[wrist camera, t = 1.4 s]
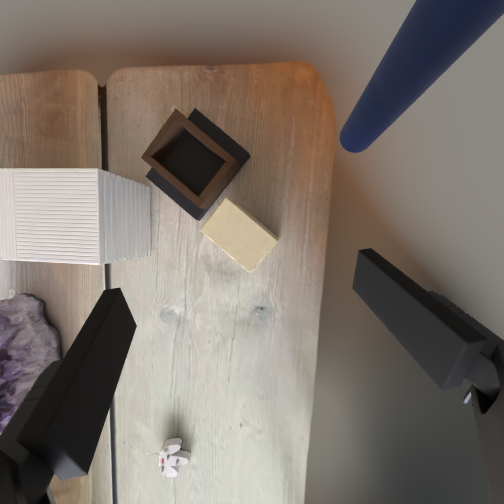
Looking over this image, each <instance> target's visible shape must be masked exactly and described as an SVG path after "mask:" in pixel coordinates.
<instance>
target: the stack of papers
mask: <svg viewBox="0 0 504 504" xmlns="http://www.w3.org/2000/svg"><path fill="white" fill-rule="evenodd" d="M147 256H151V187H150V186H147V185H144V184H142V183H139V182H136V181H133V180H130V179H127V178H125V177H121V176H119V175H115V174H113V173H110V172H107V171H103V170H102V169H99V168H0V260H18V261H37V262H56V263H75V264H95V265H102V264H105V263H106V264H107V263H111V262H112V263H113V262H119V261H124V260H130V259H135V258H141V257H147Z"/></svg>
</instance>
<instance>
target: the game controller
mask: <svg viewBox="0 0 504 504" xmlns="http://www.w3.org/2000/svg"><path fill="white" fill-rule="evenodd" d="M123 443H124V442H123ZM181 443H182V440H181V439H180V438H173V439H168V440H166V441H165V442H164V444H163V447H162V450H161V453H160V454H159V455H160V457H159V468H160V471H161V473H162V474H163V475H165V476H171V477H176V476H177V475H178V472H179V467H180V465H186V464H188V463H189V462H190V457H191V453H190V452H188V451H183V450H179V449H180V446H181ZM125 446H126V445H125ZM127 447H129V446H127ZM133 447H134V446H133ZM137 447H139V446H137ZM140 448H142V447H140ZM142 449H143V448H142ZM143 452H144V451H143ZM144 453H145V452H144ZM146 454H147V453H146ZM154 454H157V453H154ZM154 454H148V455H154Z"/></svg>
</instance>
